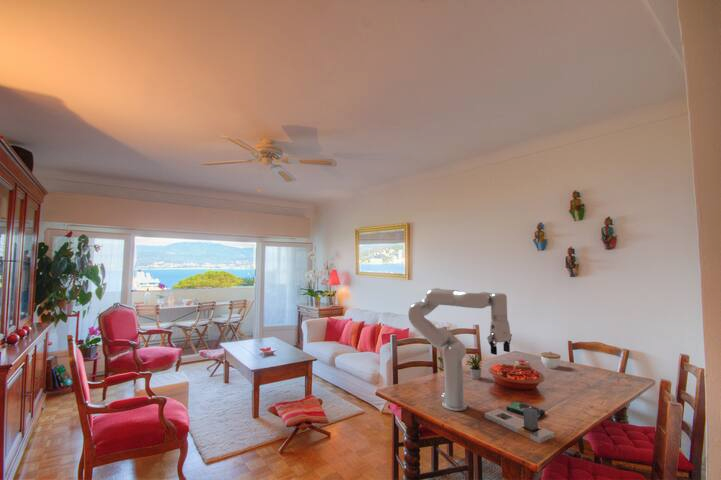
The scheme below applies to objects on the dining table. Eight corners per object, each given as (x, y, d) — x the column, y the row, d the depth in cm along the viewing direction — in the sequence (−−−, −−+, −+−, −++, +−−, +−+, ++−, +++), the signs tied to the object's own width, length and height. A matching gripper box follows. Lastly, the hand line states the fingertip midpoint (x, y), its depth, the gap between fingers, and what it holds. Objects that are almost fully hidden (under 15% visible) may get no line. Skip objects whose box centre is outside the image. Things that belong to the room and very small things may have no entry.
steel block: (524, 432, 151) (523, 409, 152) (529, 430, 153) (528, 407, 154) (532, 436, 148) (531, 412, 148) (538, 434, 150) (537, 410, 150)
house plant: (464, 373, 234) (463, 348, 235) (485, 375, 230) (484, 350, 231) (463, 379, 221) (463, 354, 222) (486, 382, 216) (485, 355, 218)
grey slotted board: (484, 417, 166) (484, 413, 166) (498, 413, 171) (498, 408, 171) (539, 443, 142) (539, 438, 142) (553, 437, 147) (553, 432, 147)
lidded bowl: (545, 363, 257) (544, 348, 258) (563, 367, 247) (563, 352, 248) (538, 366, 249) (537, 351, 250) (556, 371, 239) (556, 355, 240)
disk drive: (545, 415, 169) (515, 406, 180) (545, 410, 169) (515, 400, 181) (536, 422, 162) (506, 411, 174) (536, 416, 163) (505, 405, 174)
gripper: (494, 320, 164) (495, 356, 162) (516, 317, 172) (518, 352, 171) (481, 318, 170) (482, 353, 169) (504, 315, 179) (505, 349, 178)
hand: (500, 352), depth 170 cm, fingers open, 9 cm apart
